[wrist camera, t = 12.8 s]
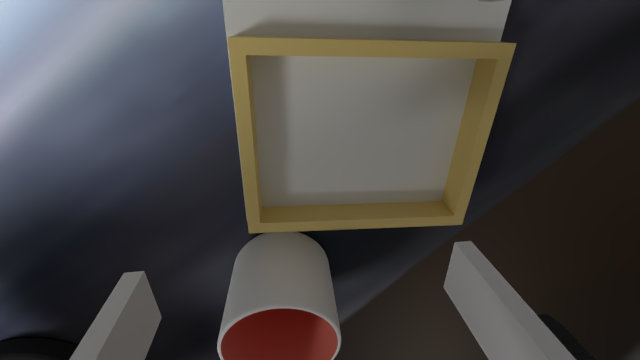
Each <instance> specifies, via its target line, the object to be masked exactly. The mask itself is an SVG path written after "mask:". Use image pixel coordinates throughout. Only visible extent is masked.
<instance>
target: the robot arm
mask: <svg viewBox="0 0 640 360" xmlns="http://www.w3.org/2000/svg"><path fill="white" fill-rule="evenodd" d="M444 289H445V290H446V292H447V293H448V295H449V297H450V298H451V300H452V301H453V303H454V305H455V306H456V308H457V309H458V311H459V312H460V314H461V316H462V317H463V319H464V321H465V322H466V324H467V325H468V327H469V329H470V330H471V332H472V333H473V335H474V337H475V338H476V340H477V341H478V343H479V345H480V346H481V348H482V349H483V351H484V353H485V354H486V356H487V357H488V359H489V360H596V359H595V358H594V357H593V356H590V354H589V352H588V351H587V350H586V349H585V348H584V347H583V346H582V344H581V343H578V340H577V339H576V338H575V337H574V336H573V335H572V334H571V333H570V332H569V331H568V330H567V329H566V328H565V327H564V326H563V325H562V324H560V323H559V322H557V321H556V320H555V319H553V318H552V317H551V316H549V315H548V314H541V315H536V314H535V313H534V312H533V311H532V309H531V308H530V307H529V306H528V305H527V304H526V303H525V302H524V300H523V299H522V298H521V297H520V296H519V295H518V294H517V292H515V290H514V289H513V288H512V287H511V286H510V285H509V283H508V282H507V281H506V280H505V279H504V278H503V277H502V276H501V274H500V273H499V272H498V271H497V270H496V269H495V268H494V266H493V265H492V264H491V263H490V262H489V261H488V260H487V259H486V257H485V256H484V255H483V254H482V253H481V252H480V251H479V250H478V248H477V247H476V246H475V245H474V244H473V243H472V242H471V241H465V242H455V243H454V247H453V251H452V255H451V259H450V263H449V267H448V271H447V275H446V280H445V284H444ZM161 318H162V317H161V314H160V311H159V309H158V306H157V303H156V301H155V298H154V296H153V293H152V290H151V288H150V285H149V282H148V280H147V277H146V274H145V272H144V271H138V272H127V273H124V274H123V275H122V277H121V278H120V280H119V281H118V283H117V285H116V286H115V288H114V289H113V291H112V293H111V294H110V296H109V297H108V299H107V301H106V302H105V304H104V305H103V307H102V309H101V310H100V312H99V313H98V315H97V316H96V318H95V320H94V321H93V323H92V324H91V326H90V328H89V329H88V331H87V332H86V334H85V336H84V337H83V339H82V340H81V342H80V343H79V345H78V346H76V345H73V344H70V343H66V342H62V341H57V340H52V339H44V338H18V339H11V340H6V341H2V342H0V360H145V358H146V355H147V353H148V350H149V348H150V345H151V343H152V341H153V338H154V336H155V333H156V331H157V328H158V326H159V323H160V321H161Z"/></svg>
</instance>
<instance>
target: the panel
mask: <svg viewBox="0 0 640 360" xmlns="http://www.w3.org/2000/svg"><path fill="white" fill-rule="evenodd" d="M511 1H512V0H223V9H224V18H225V28H226V37H227V46H228V55H229V64H230V73H231V82H232V91H233V100H234V109H235V118H236V127H237V136H238V146H239V155H240V164H241V173H242V182H243V191H244V200H245V209H246V218H247V221H248V231H249V233H271V232H296V231H321V230H345V229H370V228H395V227H419V226H444V225H462V223H463V220H464V216H465V213H466V210H467V206H468V203H469V200H470V197H471V193H472V190H473V187H474V183H475V180H476V177H477V173H478V170H479V167H480V163H481V160H482V157H483V153H484V150H485V147H486V143H487V140H488V137H489V133H490V130H491V127H492V123H493V120H494V117H495V113H496V110H497V107H498V103H499V100H500V97H501V93H502V90H503V87H504V84H505V80H506V77H507V74H508V70H509V67H510V64H511V60H512V57H513V54H514V50H515V47H516V44H517V43H508V42H500V41H501V37H502V33H503V30H504V26H505V23H506V19H507V15H508V12H509V8H510V5H511Z"/></svg>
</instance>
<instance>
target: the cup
mask: <svg viewBox="0 0 640 360" xmlns="http://www.w3.org/2000/svg"><path fill="white" fill-rule="evenodd" d="M340 345H341V334H340V327H339V321H338V316H337V310H336V304H335V298H334V292H333V286H332V280H331V274H330V268H329V262H328V258H327V256H326V253H325V252H324V250H323V249H322V247H321V246H320V245H319V244H318V243H317V242H316V241H315V240H313V239H312V238H310V237H309V236H307V235H305V234H302V233H299V232H271V233H264V234H261V235H259V236H257V237H255V238H253V239H252V240H250V241H249V242H248V243H247V244H246V245H245V246H244V247H243V248H242V249H241V250H240V252H239V254H238V255H237V257H236V260H235V264H234V268H233V273H232V277H231V282H230V286H229V291H228V295H227V300H226V305H225V309H224V314H223V318H222V323H221V328H220V332H219V337H218V341H217V350H218V354H219V357H220V359H221V360H333V359H334V358H335V356H336V355H337V353H338V351H339V349H340Z"/></svg>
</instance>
